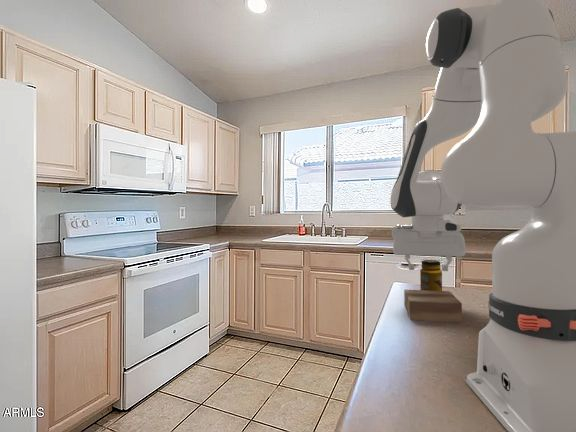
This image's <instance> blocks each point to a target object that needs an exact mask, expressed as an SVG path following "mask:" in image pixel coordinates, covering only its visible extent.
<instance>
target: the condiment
mask: <svg viewBox="0 0 576 432" xmlns="http://www.w3.org/2000/svg"><path fill="white" fill-rule="evenodd" d="M441 265H442V264H441V261H439V260H435V259H423V260H421V268H420V272H419V274H420V275H419V276H420V278H419V279H420V283H419V284H420V289H419V290H429V291H443V271H442V266H441Z"/></svg>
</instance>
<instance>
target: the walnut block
mask: <svg viewBox="0 0 576 432" xmlns="http://www.w3.org/2000/svg"><path fill="white" fill-rule="evenodd" d="M403 293H404V296H403V297H404V309H405V311H406V313H407V316H408V319H409V320H412V321H413V320H414V321H427V322H429V321H430V322H431V321H433V322H446V323H447V322H449V323H450V322H451V323H462V322H463V303H462V302H461V301H460V300H459V299H458V298H457V297H456V296H455V295H454V294H453V293H452V291H450V290H442V291H429V290H421V289H404V291H403Z"/></svg>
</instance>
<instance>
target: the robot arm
mask: <svg viewBox="0 0 576 432" xmlns="http://www.w3.org/2000/svg"><path fill="white" fill-rule="evenodd" d="M425 41H426V43H425V48H426V57H427V60H428V61H429V62H430V64H431V65H432V66H434V67H438V68H440V71H439V74H438V77H437V81H436V84H435V90H434V92H433V93H434V94H433V99H432V103H431V107H430V109H429V111H428V113H427V114H426V115H425V117H424V118H423V119H421V120H420V121H418V122H417V123H416V124H415V126H414V128H413V130H412V133H411V136H410V139H409V141H408V144H407V148H406V150H405V154H404V157H403V160H402V164H401V165H400V170H399V172H398V175H397V178H396V181H395V183H394V185H393V187H392V190H391V194H390V208H391V209H392V210H393V211H394V212H395V214H397V215H399V216H400V217H402V218H411V224H405V225H401V224H397V225H396V226H394V227H392V229H391V238H392V239H393V244H392V252H393V254H394V255H395V256H404V259H405V261H406V262H407V264H408V270H409V271H415V263H411V261H410V259H411V256H417V257H418V256H419V257H420V256H422V257H423V256H424V257H428V256H429V257H445V259H446V261H445V263H443V264H441V271H442V272H448V271H449V265H450V264H451V263H452V261H453V257H463V256H465V255H466V252H467V251H466V250H467V249H466V241H465V237H464V235H463V233H462V232H460V231H462V225H461V224H459V223H456V222H454V221H451V220H450V219H448V220H446V219H445V217H444V216H447V215H452V214H455V213H456V212H458V210H459V209H460V208H461V207H462V205H464V206H470V207H476V208H483V209H506V208H507V209H510V208H511V209H512V208H513V209H514V208H516V209H517V208H519V209H521V208H525V209H526V208H532V210H531V215H530V218H529V220H528V221H527V222H526V224H525V225H524V226H523V227H522V228H520V229H518V230H517V231H514V232H512V233H510V234H508V235H506V236H504V237H502V238H501V239H500V240H499V241H498V242H497V243H496V245H494V247H493V250H492V253H491V276H492V277H491V280H492V281H491V284H492V285H491V286H492V287H491V288H492V289H491V293H489V295H488V298H489V299H488V305H487V307H488V316H489V318H490V320H489V321H488V323H487V325H486V326H485V327H483V328H481V330H479V332H478V343H477V346H478V347H477V361H476V364H477V365H476V371H474V372H470V373H468V374H467V375H466V381H465V382H466V384H467V385H468V386H469V388H470V389H471V390H472V391H473V393H474V394H475V395H477V397H478V398H479V400H480V401H482V402H483V404H484V405H485V406H486V407H487V409H488V410H489V411H490V412H491V413H492V415H494V417H495V418H496V419H497V420H498V421H499V422H500V424H501V425H502V426H503V428H504V429H505V430H506V431H507V432H576V131H559V132H545V133H544V132H543V133H540V132H535V131H534V130H533V127H532V123H533V122H535V121H537V120H539V119H541V118H543V117H544V116H546V115H547V114H549V113H550V112H552V111H553V110H555V109H556V108H557V107H558V106H559V105H560V104H561V102H562V101H563V100H564V98H565V96H566V94H567V92H568V87H569V81H568V75H567V69H566V66H565V60H564V55H563V50H562V44H561V40H560V35H559V33H558V30H557V26H556V23H555V20H554V15H553V12H552V10H550V9H549V8H548V7H547V5H546V3H545V2H544V0H500V1H499V2H497V3H496V4H486V5H478V6H472V7H471V6H470V7H465V8H459V7H454V8H452V9H448V10H445V11H442V12H440V13H439V14H438V15H437V16H436V17H435V18H434V19H433V21H432V23H431V25H430V28H429V30H428V32H427V36H426V40H425ZM471 129H472V130H471ZM470 130H471V131H470ZM469 131H470V132H469ZM468 132H469V133H468ZM466 133H468V134H467V135H466V136H465V137H464V138H462V140H461V141H459V142H457V143H456V144H455V145H454V146H453V147H451V148H450V150H449V151H448V152H447V154H446V155H445V157H444V159H443V161H442V164H441V168H440V171H439V170H437V169H429V170H428V169H427V170H423V171H421V168H422V165H423V163H424V160H425V157H426V155H427V154H428V152H429V151H431V150H432V149H433V148H435V147H436V146H438V145H440V144H442V143H445V142H447V141H450V140H452V139H455V138H457V137H461V136H462V135H464V134H466Z"/></svg>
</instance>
